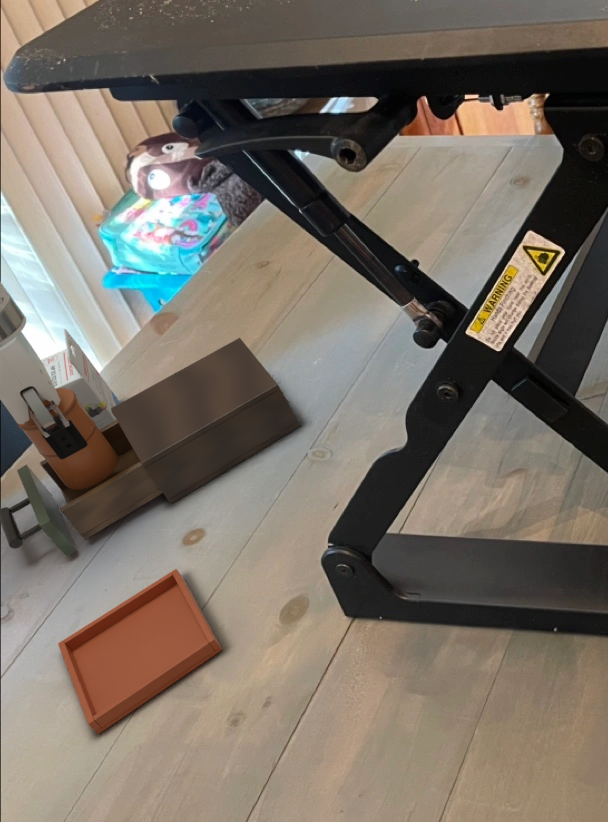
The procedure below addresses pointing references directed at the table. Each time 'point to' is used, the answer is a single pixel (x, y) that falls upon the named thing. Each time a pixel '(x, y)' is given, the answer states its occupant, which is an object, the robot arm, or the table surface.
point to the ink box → (82, 381)
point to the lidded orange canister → (85, 463)
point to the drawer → (83, 498)
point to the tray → (137, 650)
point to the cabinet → (205, 419)
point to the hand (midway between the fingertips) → (66, 435)
